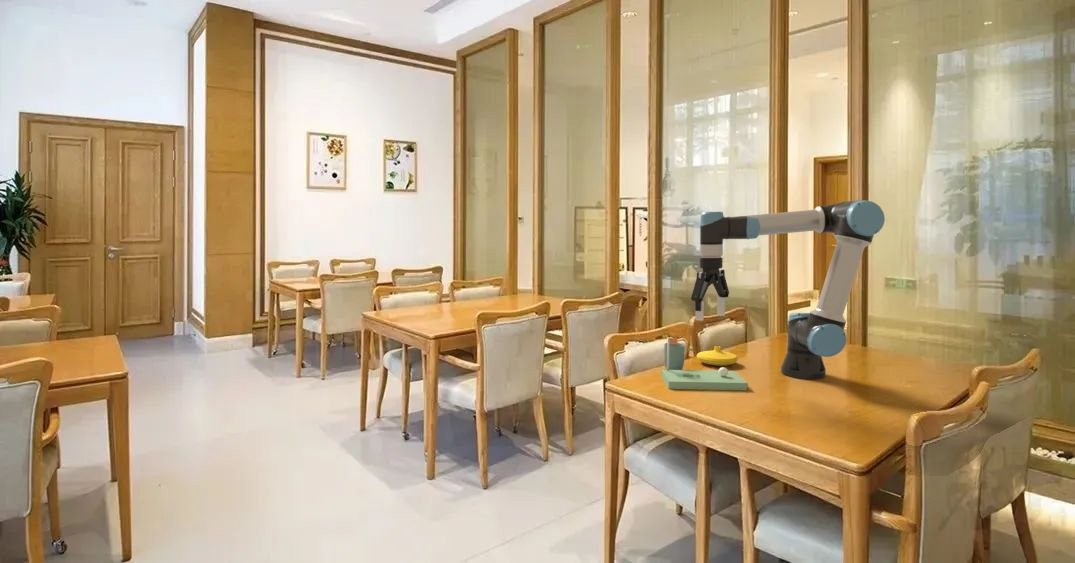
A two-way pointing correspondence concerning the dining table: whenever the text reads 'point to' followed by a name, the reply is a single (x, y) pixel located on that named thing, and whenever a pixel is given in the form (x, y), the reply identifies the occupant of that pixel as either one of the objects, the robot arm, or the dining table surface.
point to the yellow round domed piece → (717, 357)
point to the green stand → (700, 377)
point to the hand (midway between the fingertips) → (710, 318)
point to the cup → (675, 356)
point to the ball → (723, 371)
